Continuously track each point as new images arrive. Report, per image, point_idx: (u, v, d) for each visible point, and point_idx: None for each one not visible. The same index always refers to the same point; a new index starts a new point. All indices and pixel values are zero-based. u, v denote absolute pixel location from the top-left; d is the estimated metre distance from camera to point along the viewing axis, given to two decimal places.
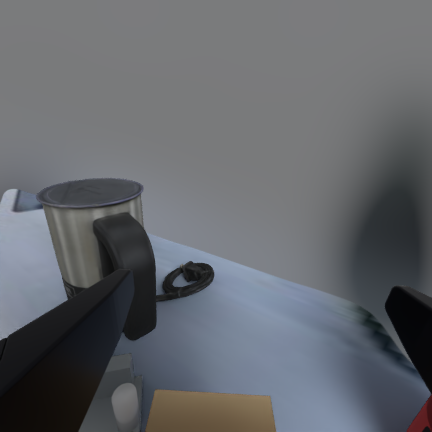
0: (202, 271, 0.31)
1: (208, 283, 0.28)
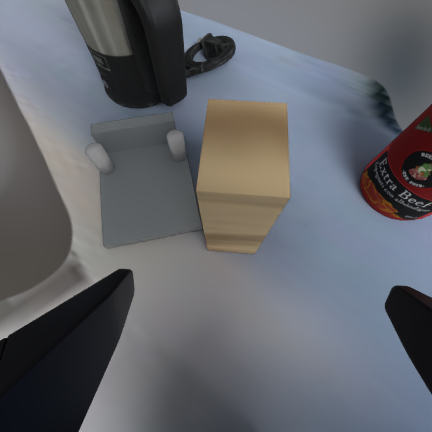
0: (223, 44, 0.29)
1: (230, 56, 0.28)
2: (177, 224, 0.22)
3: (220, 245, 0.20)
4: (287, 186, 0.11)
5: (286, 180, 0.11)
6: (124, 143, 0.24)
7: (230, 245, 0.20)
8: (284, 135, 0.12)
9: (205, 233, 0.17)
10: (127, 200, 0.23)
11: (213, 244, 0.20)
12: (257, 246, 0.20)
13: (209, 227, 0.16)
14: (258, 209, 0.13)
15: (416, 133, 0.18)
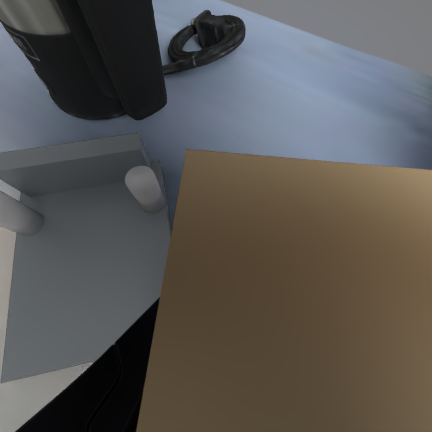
0: (227, 25, 0.19)
1: (237, 43, 0.18)
2: None
3: None
4: None
5: None
6: (59, 182, 0.14)
7: None
8: None
9: None
10: (57, 286, 0.13)
11: None
12: None
13: None
14: None
15: None
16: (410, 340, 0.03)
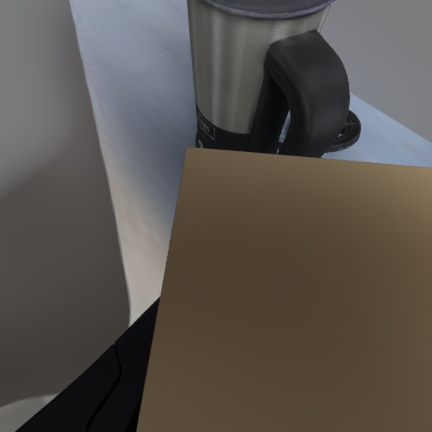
0: (346, 122, 0.24)
1: (354, 142, 0.23)
2: None
3: None
4: None
5: None
6: None
7: None
8: None
9: None
10: None
11: None
12: None
13: None
14: None
15: None
16: (410, 337, 0.03)
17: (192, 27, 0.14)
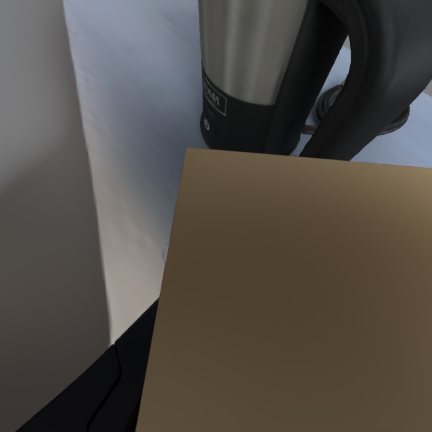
0: None
1: (402, 124, 0.18)
2: None
3: None
4: None
5: None
6: None
7: None
8: None
9: None
10: None
11: None
12: None
13: None
14: None
15: None
16: (409, 337, 0.03)
17: None
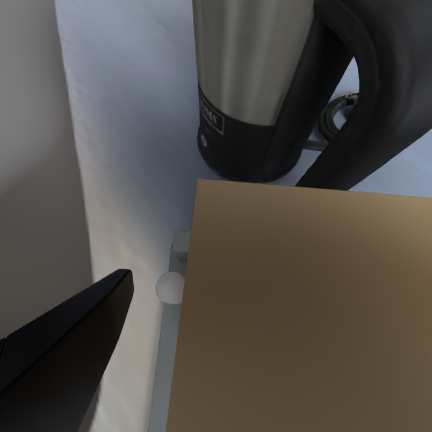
0: None
1: None
2: None
3: None
4: None
5: None
6: None
7: None
8: None
9: None
10: None
11: None
12: None
13: None
14: None
15: None
16: (383, 339, 0.03)
17: None
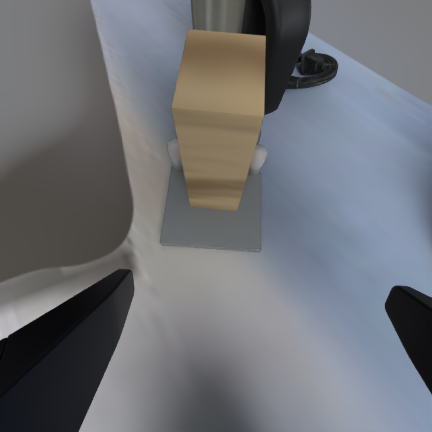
0: (325, 63, 0.28)
1: (330, 78, 0.26)
2: (236, 241, 0.21)
3: (202, 198, 0.20)
4: (262, 106, 0.11)
5: (261, 101, 0.12)
6: None
7: (212, 197, 0.20)
8: (261, 63, 0.13)
9: (186, 178, 0.18)
10: None
11: (195, 197, 0.20)
12: (238, 198, 0.20)
13: (189, 169, 0.16)
14: (235, 136, 0.13)
15: None
16: (236, 62, 0.13)
17: None
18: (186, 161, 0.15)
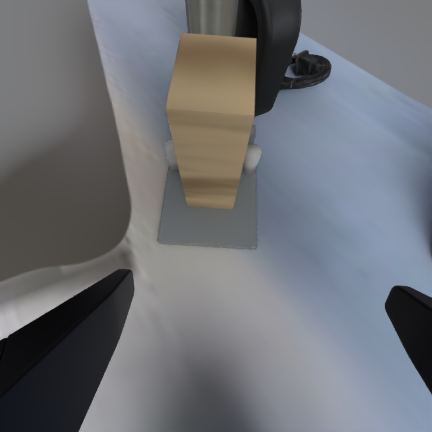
0: (318, 64, 0.28)
1: (323, 79, 0.27)
2: (232, 239, 0.22)
3: (198, 197, 0.21)
4: (252, 106, 0.12)
5: (251, 101, 0.12)
6: None
7: (208, 196, 0.21)
8: (252, 64, 0.13)
9: (182, 177, 0.18)
10: None
11: (191, 195, 0.21)
12: (233, 196, 0.20)
13: (184, 168, 0.17)
14: (227, 135, 0.13)
15: None
16: (228, 64, 0.13)
17: None
18: (181, 160, 0.16)
